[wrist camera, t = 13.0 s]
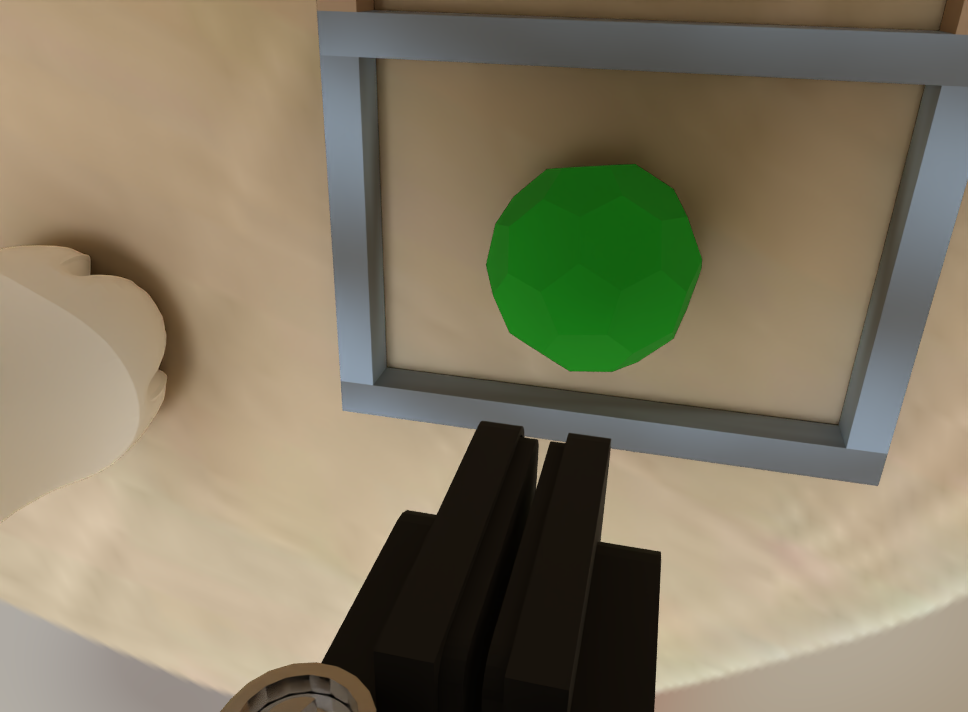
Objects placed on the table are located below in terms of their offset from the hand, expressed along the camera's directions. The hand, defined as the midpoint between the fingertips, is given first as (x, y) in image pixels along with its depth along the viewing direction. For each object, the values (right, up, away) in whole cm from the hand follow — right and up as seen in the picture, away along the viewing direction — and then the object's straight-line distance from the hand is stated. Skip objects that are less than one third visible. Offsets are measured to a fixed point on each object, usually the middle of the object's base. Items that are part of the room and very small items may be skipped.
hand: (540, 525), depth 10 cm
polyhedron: (+2, +5, +11) cm, 12 cm away
